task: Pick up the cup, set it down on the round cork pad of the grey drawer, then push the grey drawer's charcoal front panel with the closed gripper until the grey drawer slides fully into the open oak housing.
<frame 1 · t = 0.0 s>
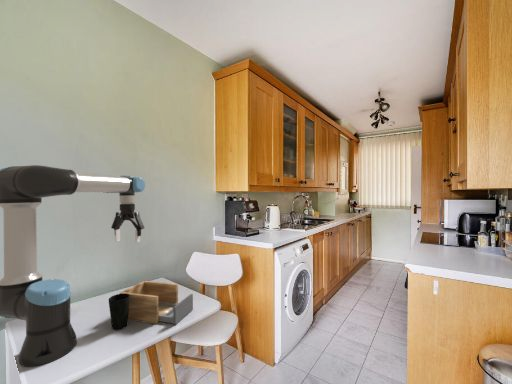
hand: (127, 241, 135), 28 cm above the table, fingers open, 13 cm apart
grey drawer: (166, 306, 108), point 4 cm above the table, slide at 7.0 cm
cup: (119, 326, 99), on the table
housing: (149, 312, 111), on the table
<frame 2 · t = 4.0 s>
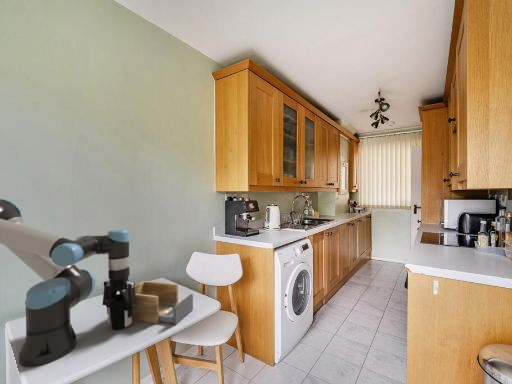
hand: (119, 323, 99), 1 cm above the table, fingers closed on cup, 8 cm apart
cup: (119, 326, 99), on the table, touching gripper
everything else where it was.
when the fingers open (4 cm above the table, at t = 9.5 s): cup stays where it is, resting on grey drawer.
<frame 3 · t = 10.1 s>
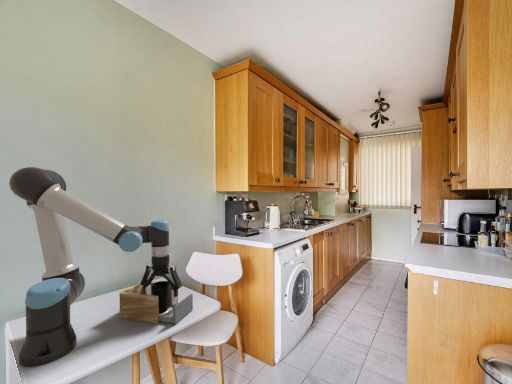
hand: (161, 302, 109), 5 cm above the table, fingers open, 13 cm apart
grey drawer: (166, 306, 108), point 4 cm above the table, slide at 6.9 cm, touching cup
cup: (161, 311, 109), point 1 cm above the table, touching grey drawer
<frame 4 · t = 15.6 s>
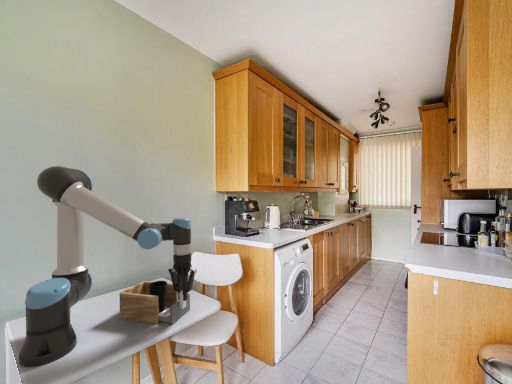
hand: (182, 307, 106), 4 cm above the table, fingers closed
grey drawer: (163, 305, 108), point 4 cm above the table, slide at 5.4 cm, touching cup, gripper
cup: (158, 310, 109), point 1 cm above the table, touching grey drawer
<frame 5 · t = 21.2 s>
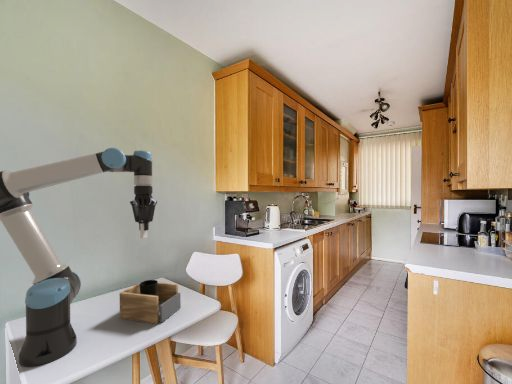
hand: (144, 237, 109), 34 cm above the table, fingers closed
grey drawer: (154, 304, 110), point 4 cm above the table, slide at 0.5 cm, touching cup
cup: (149, 309, 111), point 1 cm above the table, touching grey drawer
at the end: grey drawer slide at 0.5 cm; cup inside the target area on the housing (0.5 cm from its centre), point 1.3 cm above the housing's base; cup tilted 0° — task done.
